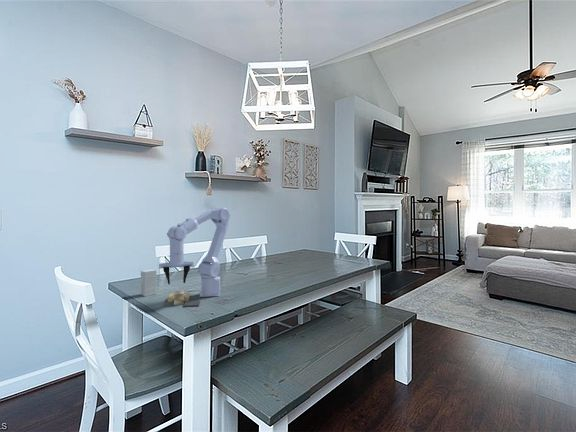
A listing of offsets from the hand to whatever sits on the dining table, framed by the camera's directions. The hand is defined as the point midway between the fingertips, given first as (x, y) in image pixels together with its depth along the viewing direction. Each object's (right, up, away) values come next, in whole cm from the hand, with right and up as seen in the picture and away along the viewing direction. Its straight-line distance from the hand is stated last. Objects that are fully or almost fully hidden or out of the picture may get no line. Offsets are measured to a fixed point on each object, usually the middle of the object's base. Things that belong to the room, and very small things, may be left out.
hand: (176, 283), depth 132 cm
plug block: (+1, -10, +1) cm, 10 cm away
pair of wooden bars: (-1, -9, +6) cm, 11 cm away
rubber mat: (+7, -10, 0) cm, 12 cm away
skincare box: (-19, -9, +13) cm, 25 cm away
